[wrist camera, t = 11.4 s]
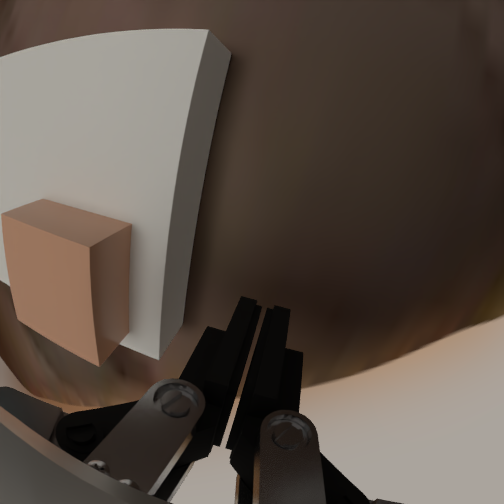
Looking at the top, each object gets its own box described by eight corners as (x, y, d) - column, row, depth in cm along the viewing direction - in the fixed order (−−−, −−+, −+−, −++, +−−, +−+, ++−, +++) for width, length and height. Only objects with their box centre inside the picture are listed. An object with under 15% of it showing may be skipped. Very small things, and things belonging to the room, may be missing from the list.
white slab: (231, 53, 10) (208, 29, 7) (182, 324, 15) (158, 360, 12) (-6, 71, 12) (-37, 71, 9) (-13, 239, 17) (-39, 252, 14)
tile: (132, 223, 10) (89, 247, 8) (129, 332, 12) (99, 367, 10) (42, 198, 11) (0, 213, 8) (49, 295, 12) (17, 319, 10)
